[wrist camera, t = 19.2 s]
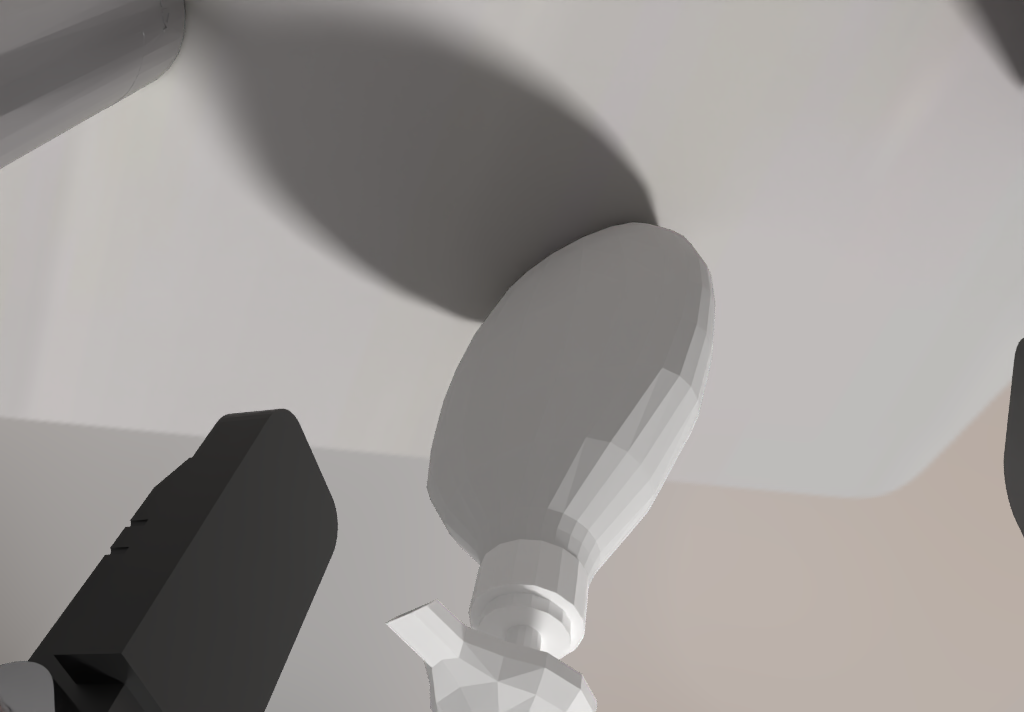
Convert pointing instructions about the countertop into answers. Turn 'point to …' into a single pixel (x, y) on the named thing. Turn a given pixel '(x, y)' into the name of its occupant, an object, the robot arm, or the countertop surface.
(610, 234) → the soap bottle
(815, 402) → the countertop surface
